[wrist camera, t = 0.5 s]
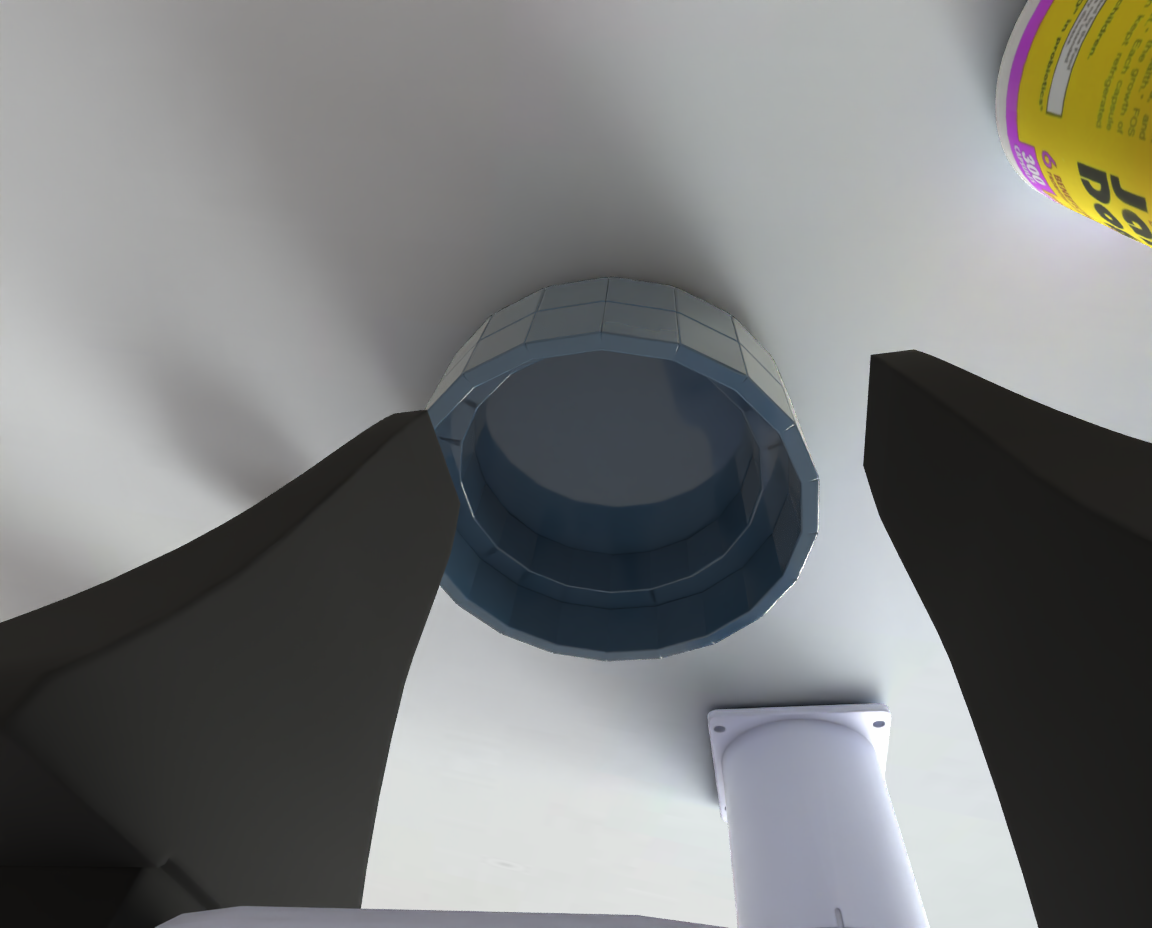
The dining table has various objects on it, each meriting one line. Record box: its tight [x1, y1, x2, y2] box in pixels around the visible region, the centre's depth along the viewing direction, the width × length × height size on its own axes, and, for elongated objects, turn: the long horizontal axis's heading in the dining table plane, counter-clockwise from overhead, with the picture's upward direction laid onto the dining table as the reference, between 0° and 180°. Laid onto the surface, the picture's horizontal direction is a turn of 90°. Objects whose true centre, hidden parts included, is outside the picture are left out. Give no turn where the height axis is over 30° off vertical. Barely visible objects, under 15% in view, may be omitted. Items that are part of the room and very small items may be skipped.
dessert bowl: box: [425, 277, 819, 661], centre depth 21 cm, size 12×12×4 cm
